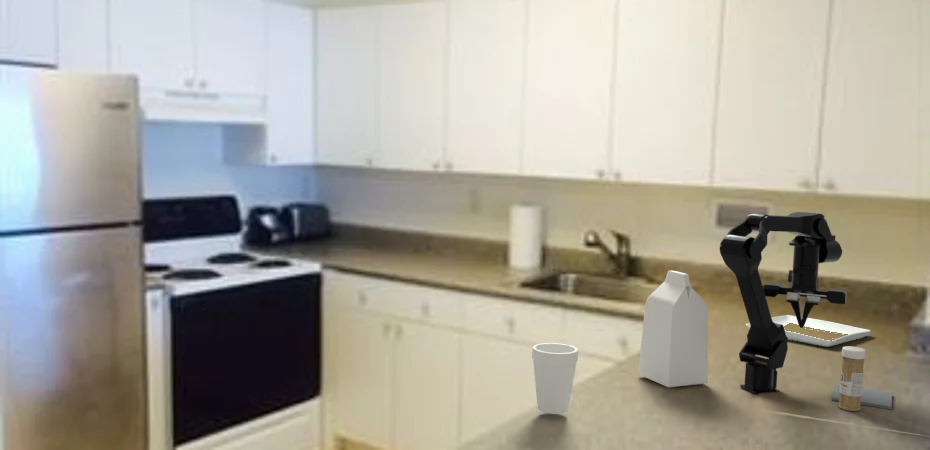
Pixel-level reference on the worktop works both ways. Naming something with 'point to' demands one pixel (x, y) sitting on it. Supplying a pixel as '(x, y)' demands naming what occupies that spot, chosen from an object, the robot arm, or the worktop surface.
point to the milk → (675, 334)
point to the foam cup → (554, 375)
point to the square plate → (822, 325)
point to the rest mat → (869, 398)
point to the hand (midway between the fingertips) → (801, 328)
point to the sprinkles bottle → (851, 378)
